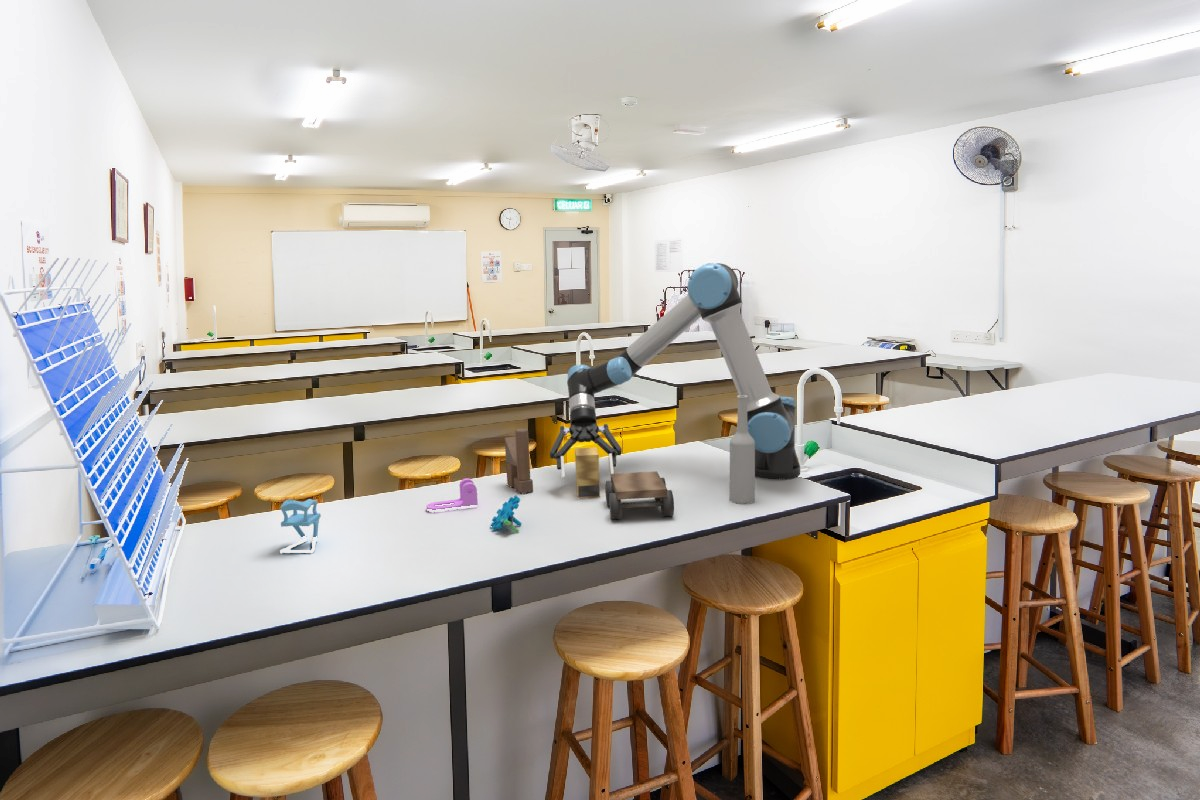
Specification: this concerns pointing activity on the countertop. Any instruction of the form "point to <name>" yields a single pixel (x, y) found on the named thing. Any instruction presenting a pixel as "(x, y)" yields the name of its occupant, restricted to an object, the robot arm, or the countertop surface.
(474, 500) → the bracket
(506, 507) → the gear
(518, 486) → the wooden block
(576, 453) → the block
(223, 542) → the countertop surface
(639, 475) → the trolley
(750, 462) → the bottle
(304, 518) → the chair
